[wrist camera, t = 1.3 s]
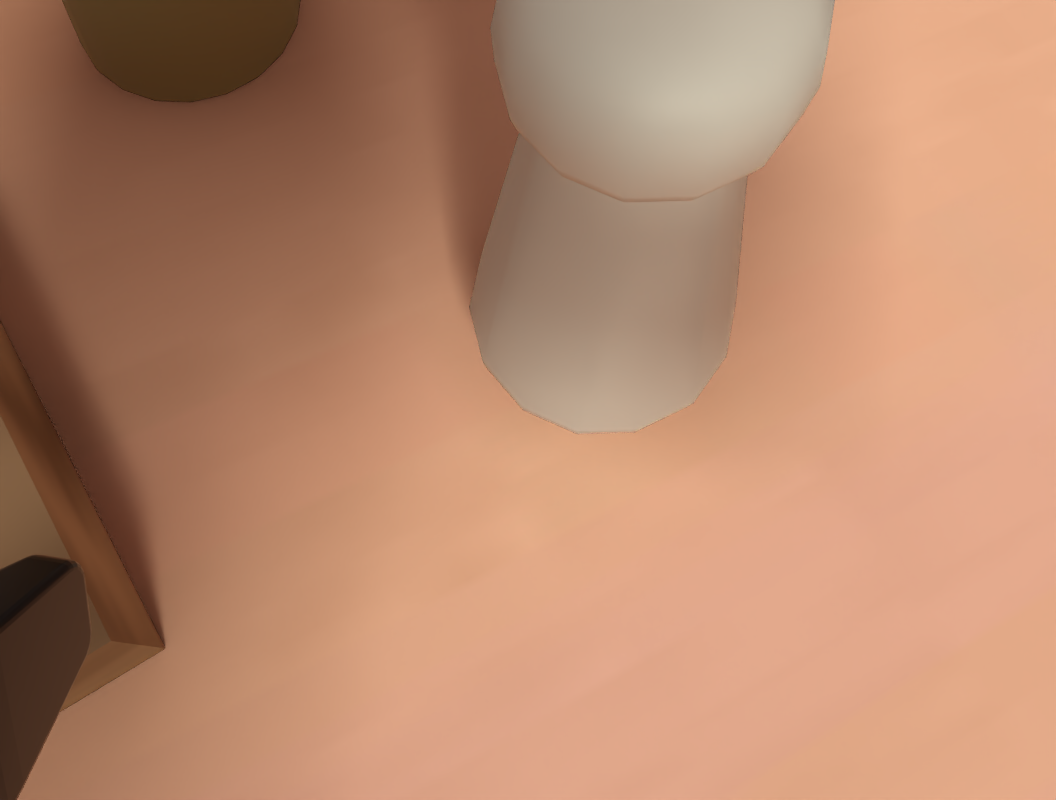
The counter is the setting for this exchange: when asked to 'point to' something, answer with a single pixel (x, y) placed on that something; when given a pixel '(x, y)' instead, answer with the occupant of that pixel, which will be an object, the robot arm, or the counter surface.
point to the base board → (64, 530)
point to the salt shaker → (631, 194)
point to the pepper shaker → (182, 43)
